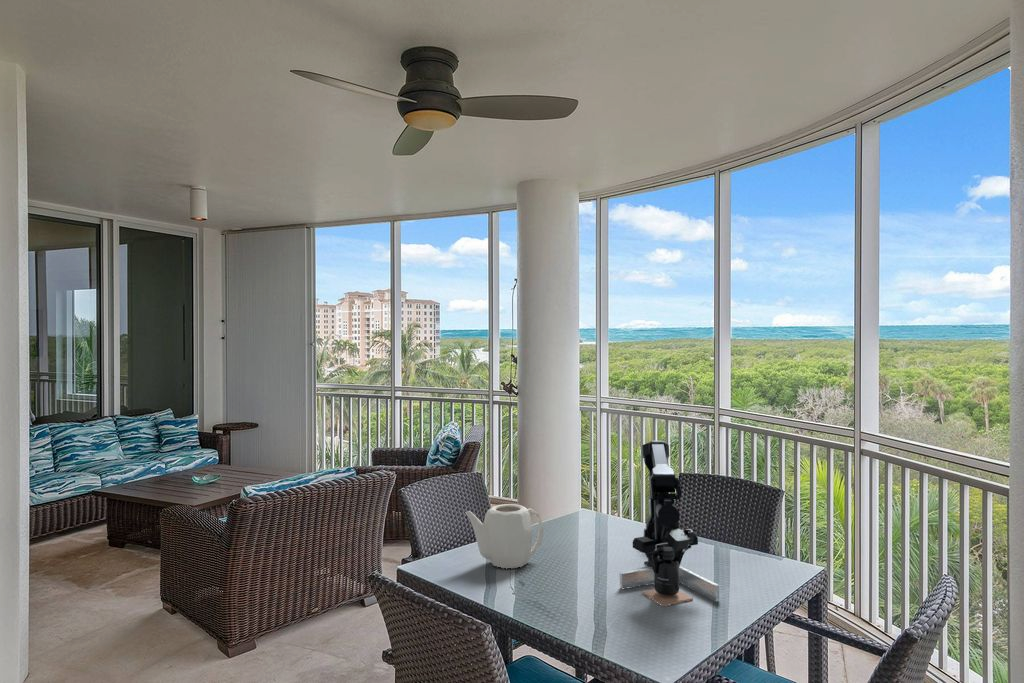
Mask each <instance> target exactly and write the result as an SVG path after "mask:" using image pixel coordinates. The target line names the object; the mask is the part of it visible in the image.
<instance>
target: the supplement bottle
mask: <svg viewBox="0 0 1024 683" xmlns="http://www.w3.org/2000/svg"><path fill="white" fill-rule="evenodd" d="M658 551H659V552H660V553H659V555H658V573H657V574H655V573H654V584H653V586H654V589H655V591H656V592H657V593H659V594H662V595H675V594H677V593H678V592H679V591H680V582H679V562H678V560H677V559H676V558H674V557H675V550H673V549H672V547H665V546H663V547H659V548H658Z"/></svg>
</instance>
